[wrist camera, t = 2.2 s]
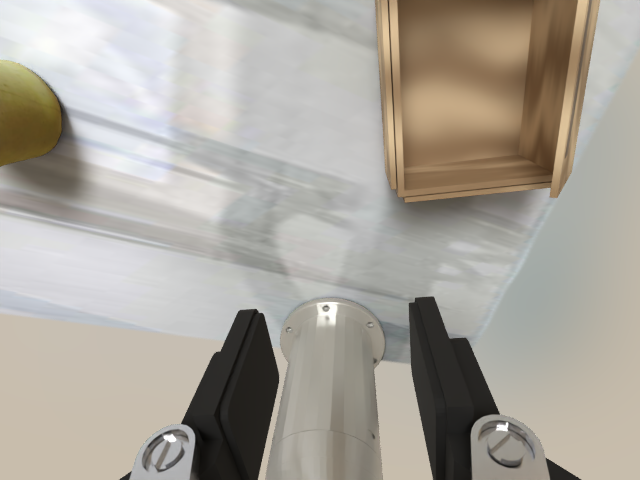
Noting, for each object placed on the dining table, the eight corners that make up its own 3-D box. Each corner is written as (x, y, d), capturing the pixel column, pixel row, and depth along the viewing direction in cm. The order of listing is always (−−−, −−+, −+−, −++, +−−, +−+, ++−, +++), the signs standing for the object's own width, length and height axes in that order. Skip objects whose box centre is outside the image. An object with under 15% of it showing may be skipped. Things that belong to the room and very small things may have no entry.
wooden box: (521, 163, 33) (561, 186, 27) (384, 178, 35) (392, 203, 29) (546, -68, 26) (608, -110, 20) (371, -36, 28) (377, -65, 21)
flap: (571, 172, 26) (557, 198, 22) (564, 172, 26) (549, 197, 23) (615, -87, 20) (604, -110, 16) (604, -83, 20) (592, -105, 16)
